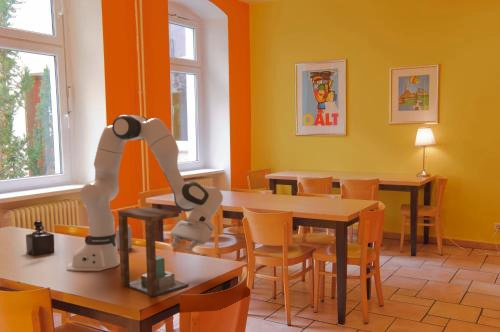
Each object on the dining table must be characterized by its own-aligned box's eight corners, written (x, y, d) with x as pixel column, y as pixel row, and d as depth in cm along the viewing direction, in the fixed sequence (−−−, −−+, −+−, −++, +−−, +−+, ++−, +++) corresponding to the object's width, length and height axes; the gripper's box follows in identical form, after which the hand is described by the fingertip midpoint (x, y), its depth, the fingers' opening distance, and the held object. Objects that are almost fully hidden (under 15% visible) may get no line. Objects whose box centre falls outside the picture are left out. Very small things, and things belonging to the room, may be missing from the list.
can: (118, 247, 254) (117, 224, 253) (133, 246, 254) (132, 224, 253) (115, 250, 246) (114, 227, 245) (130, 250, 247) (129, 226, 246)
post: (159, 280, 193) (158, 256, 192) (165, 283, 190) (164, 257, 189) (150, 283, 190) (149, 258, 189) (156, 285, 187) (155, 260, 187)
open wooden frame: (149, 276, 199) (146, 206, 197) (180, 287, 185) (178, 212, 183) (120, 283, 190) (117, 211, 188) (151, 296, 175) (149, 217, 173)
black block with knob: (24, 253, 245) (22, 217, 243) (46, 249, 252) (45, 214, 251) (36, 258, 234) (35, 221, 232) (59, 254, 241) (57, 218, 240)
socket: (157, 276, 202) (157, 265, 202) (188, 286, 188) (188, 275, 188) (124, 285, 191) (123, 274, 190) (153, 297, 177) (153, 285, 176)
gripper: (178, 214, 209) (160, 240, 203) (209, 219, 195) (191, 248, 189) (186, 222, 212) (169, 249, 206) (218, 228, 198) (200, 257, 192)
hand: (180, 248), depth 197 cm, fingers open, 8 cm apart
